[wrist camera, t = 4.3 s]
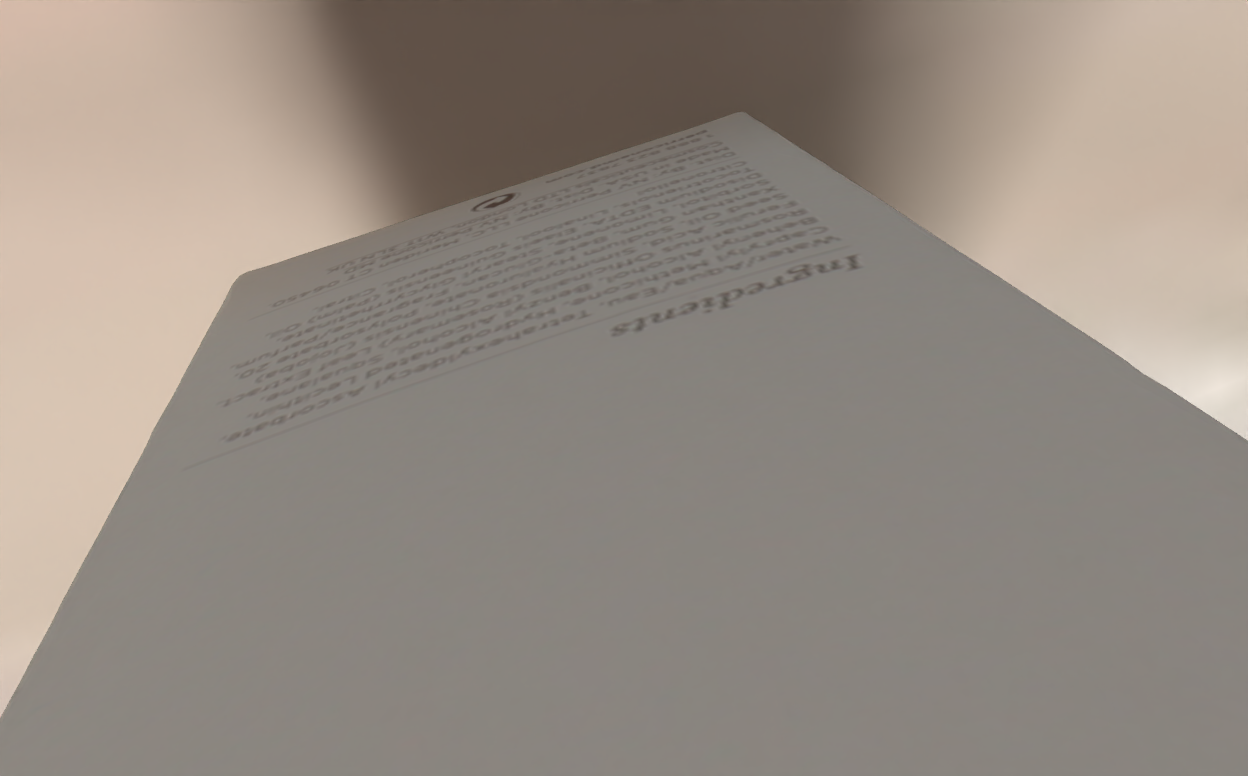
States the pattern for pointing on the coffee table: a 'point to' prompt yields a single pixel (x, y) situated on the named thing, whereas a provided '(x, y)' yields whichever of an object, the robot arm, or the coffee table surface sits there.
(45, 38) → the coffee table surface
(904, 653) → the small box
